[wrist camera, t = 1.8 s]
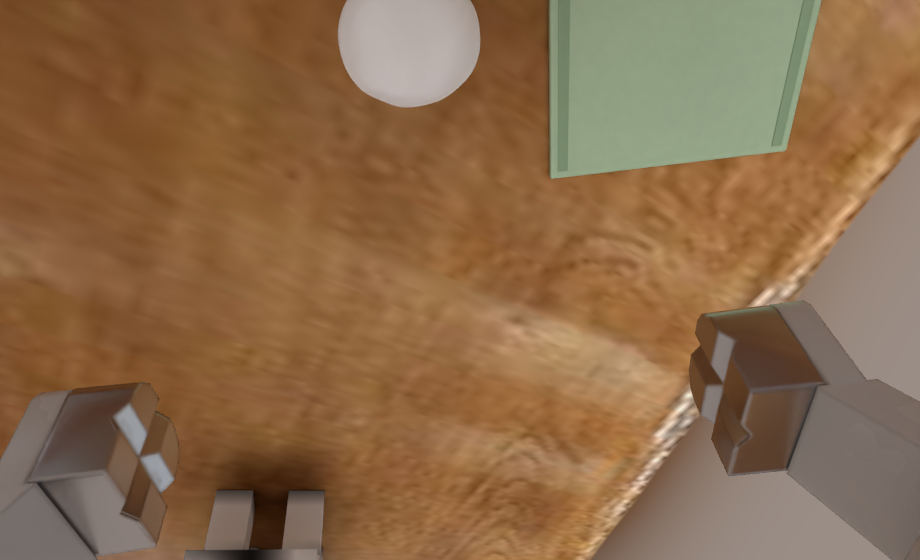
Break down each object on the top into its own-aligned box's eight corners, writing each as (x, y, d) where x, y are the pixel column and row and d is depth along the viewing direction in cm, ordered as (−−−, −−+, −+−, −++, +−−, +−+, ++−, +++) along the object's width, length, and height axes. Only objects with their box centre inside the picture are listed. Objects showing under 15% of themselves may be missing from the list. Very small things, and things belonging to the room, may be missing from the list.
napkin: (547, -207, 25) (549, -205, 25) (873, -243, 25) (880, -243, 25) (549, 175, 35) (550, 179, 35) (782, 147, 36) (786, 151, 35)
